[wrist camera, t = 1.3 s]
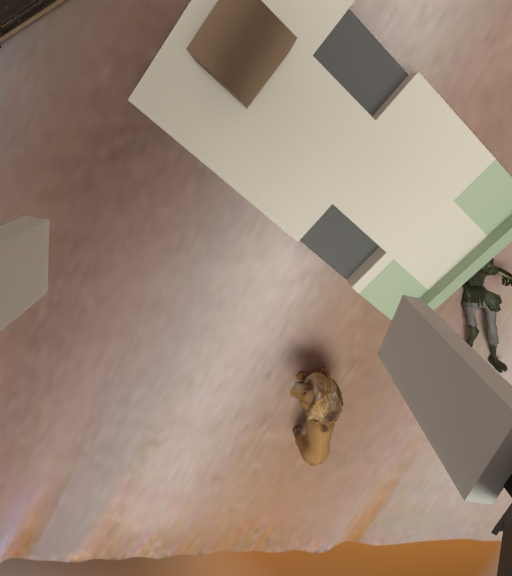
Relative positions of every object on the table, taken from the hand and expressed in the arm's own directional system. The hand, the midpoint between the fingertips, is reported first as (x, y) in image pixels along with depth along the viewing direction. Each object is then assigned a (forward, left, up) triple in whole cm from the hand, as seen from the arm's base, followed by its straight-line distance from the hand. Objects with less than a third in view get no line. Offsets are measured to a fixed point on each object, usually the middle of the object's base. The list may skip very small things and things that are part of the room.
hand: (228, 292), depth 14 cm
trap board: (+5, +8, -23) cm, 25 cm away
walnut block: (-6, +8, -20) cm, 23 cm away
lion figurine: (+21, -13, -23) cm, 34 cm away
